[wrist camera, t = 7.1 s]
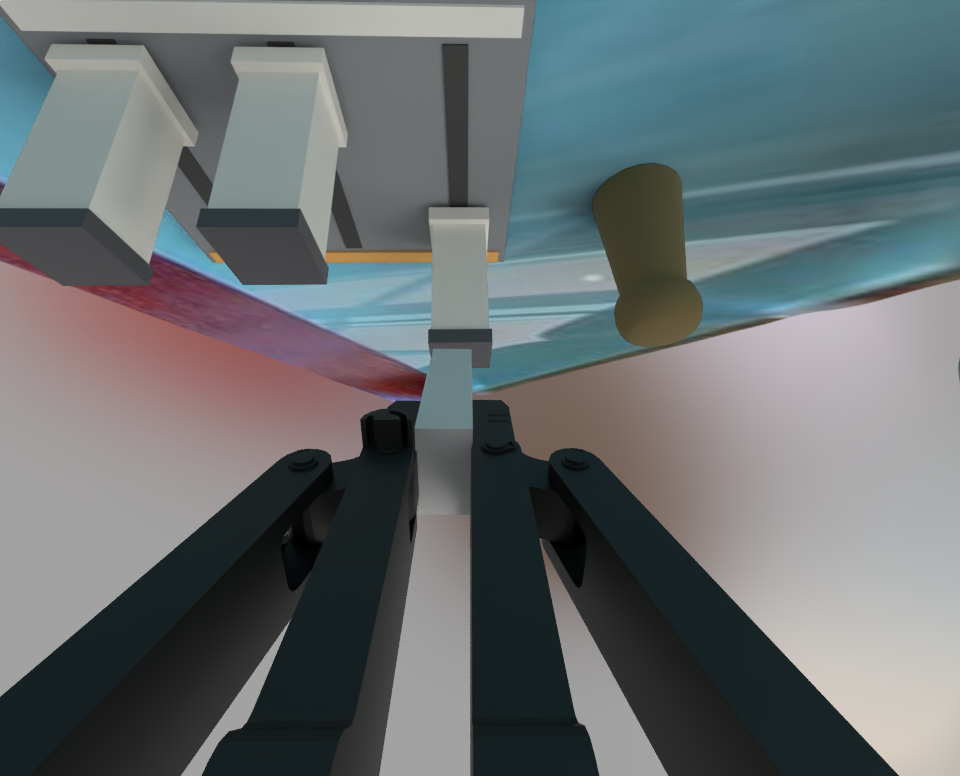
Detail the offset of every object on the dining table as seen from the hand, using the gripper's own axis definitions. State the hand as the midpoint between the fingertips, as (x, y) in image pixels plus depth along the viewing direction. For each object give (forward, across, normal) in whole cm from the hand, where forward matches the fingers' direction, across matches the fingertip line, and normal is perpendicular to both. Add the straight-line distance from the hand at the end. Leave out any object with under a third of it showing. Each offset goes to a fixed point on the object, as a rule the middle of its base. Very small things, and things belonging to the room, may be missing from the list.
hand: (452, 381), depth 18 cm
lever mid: (+10, +8, -11) cm, 17 cm away
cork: (+18, -12, -7) cm, 23 cm away
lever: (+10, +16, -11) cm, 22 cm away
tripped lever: (+17, 0, -5) cm, 18 cm away
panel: (+15, +8, -9) cm, 19 cm away
